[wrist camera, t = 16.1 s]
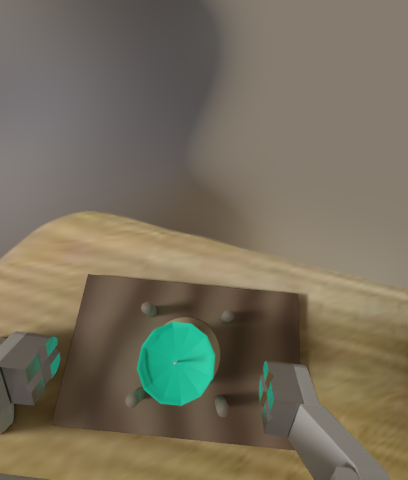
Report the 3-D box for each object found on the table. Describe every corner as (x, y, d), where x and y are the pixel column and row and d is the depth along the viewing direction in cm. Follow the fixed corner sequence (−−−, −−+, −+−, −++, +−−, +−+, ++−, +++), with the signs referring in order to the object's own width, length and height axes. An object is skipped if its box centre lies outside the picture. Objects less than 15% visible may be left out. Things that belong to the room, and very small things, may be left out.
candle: (217, 339, 31) (228, 337, 20) (198, 394, 29) (198, 427, 18) (169, 319, 32) (154, 307, 21) (147, 372, 30) (116, 390, 19)
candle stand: (293, 295, 35) (310, 287, 30) (297, 445, 29) (318, 468, 24) (92, 277, 35) (74, 265, 30) (58, 421, 30) (28, 438, 24)
